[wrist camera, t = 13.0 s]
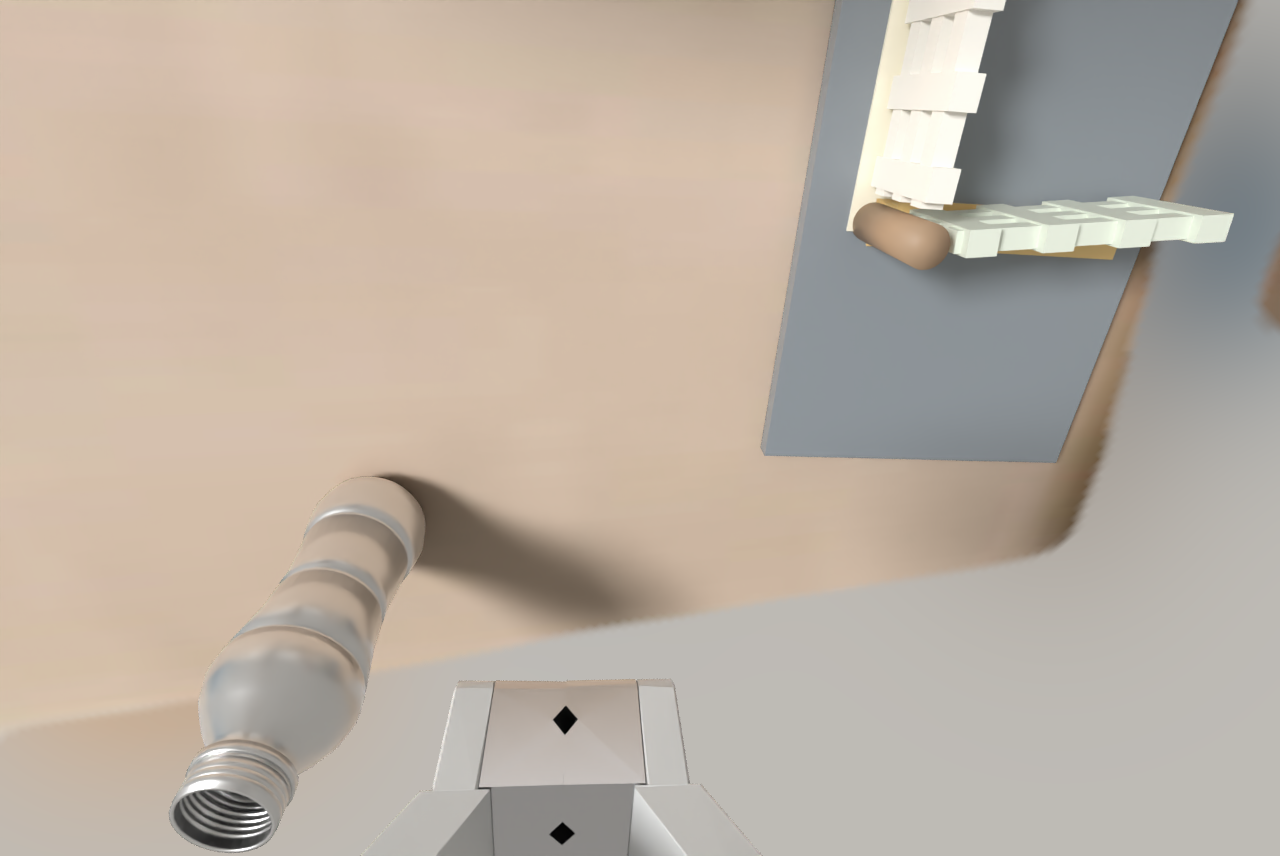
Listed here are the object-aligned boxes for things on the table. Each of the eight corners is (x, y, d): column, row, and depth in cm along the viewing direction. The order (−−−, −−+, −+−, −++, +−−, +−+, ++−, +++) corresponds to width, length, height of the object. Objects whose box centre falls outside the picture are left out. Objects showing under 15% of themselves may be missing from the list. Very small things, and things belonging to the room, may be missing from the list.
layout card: (855, -117, 29) (865, -125, 28) (1249, -74, 31) (1272, -80, 30) (760, 447, 41) (765, 456, 40) (1046, 455, 43) (1057, 463, 42)
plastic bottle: (340, 556, 43) (164, 887, 25) (312, 465, 40) (88, 767, 22) (441, 548, 43) (339, 869, 25) (422, 457, 40) (289, 748, 22)
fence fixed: (918, -109, 28) (1003, -162, 23) (962, -104, 29) (1057, -155, 23) (848, 240, 35) (899, 269, 29) (884, 242, 35) (943, 271, 29)
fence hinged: (901, 233, 34) (959, 258, 29) (903, 209, 34) (963, 230, 29) (1127, 219, 35) (1224, 241, 30) (1133, 195, 34) (1234, 213, 29)
